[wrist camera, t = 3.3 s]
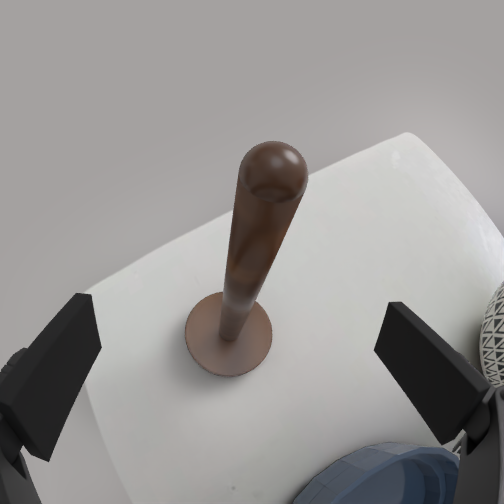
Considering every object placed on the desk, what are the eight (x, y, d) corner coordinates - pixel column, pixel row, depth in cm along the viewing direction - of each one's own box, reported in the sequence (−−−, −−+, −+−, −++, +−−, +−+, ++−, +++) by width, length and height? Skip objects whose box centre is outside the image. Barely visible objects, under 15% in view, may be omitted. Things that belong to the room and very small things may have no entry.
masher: (183, 372, 22) (61, 290, 4) (191, 294, 25) (162, 68, 7) (266, 379, 23) (452, 319, 4) (269, 302, 26) (381, 103, 8)
